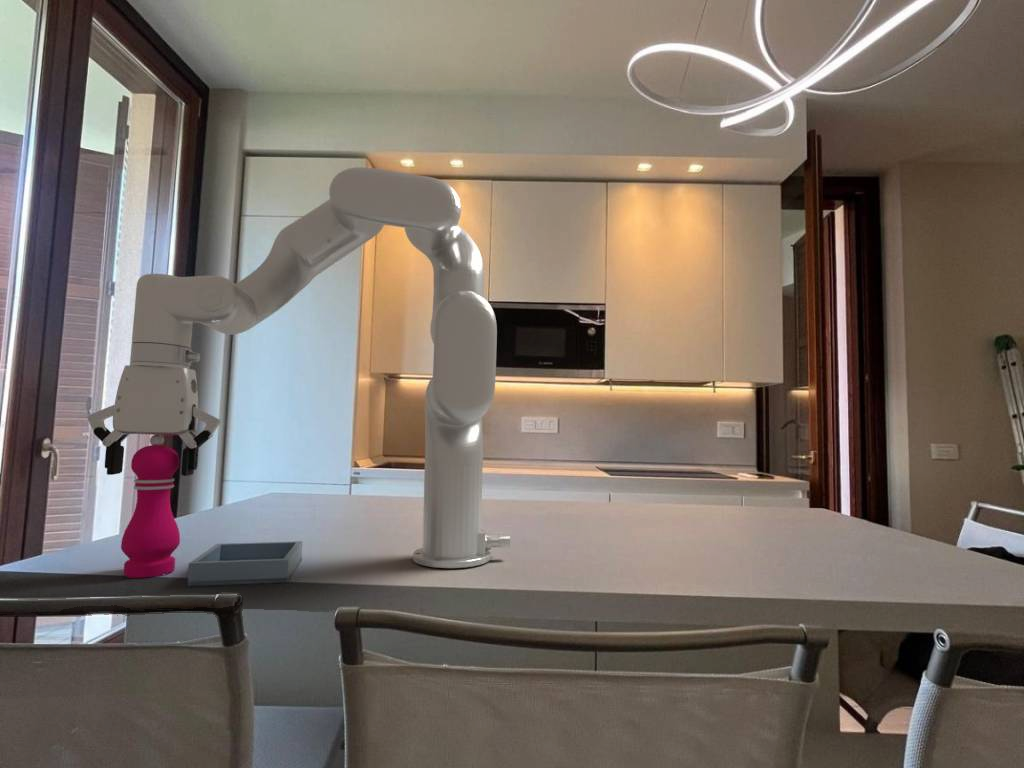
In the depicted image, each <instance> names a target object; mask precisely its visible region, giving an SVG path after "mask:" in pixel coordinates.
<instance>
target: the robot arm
mask: <svg viewBox="0 0 1024 768" xmlns="http://www.w3.org/2000/svg"><path fill="white" fill-rule="evenodd" d="M328 190H329V191H328V193H329V194H328V195H329V199H328V200H326V201H324V202H323V203H321V204H320V205H319V206H317V207H316V208H314V209H312V210H311V211H309V212H308V213H306V214H304V215H303V216H301V217H300V218H298V219H297V220H294V222H292V223H290V224H288V225H286V226H285V227H284V228H282V229H281V230H280V231H279V233H278V234H277V236H276V237H275V239H274V242H273V244H272V245H271V249H270V251H269V253H268V255H267V256H266V258H265V259H264V261H263V262H262V263H261V264H260V265H259V266H258V267H257V268H256V269H255V270H253V271H252V272H251V273H250V274H248V275H247V276H245V277H244V278H243V279H241V280H240V281H238V282H236V283H234V281H232V280H230V279H229V278H227V277H224V276H220V275H197V276H176V275H172V274H165V273H146V274H143V275H141V276H140V277H139V278H138V280H137V283H136V288H135V289H136V290H135V299H134V300H135V301H134V313H133V323H132V334H131V347H130V348H131V349H130V356H129V357H130V359H129V364H128V365H124V368H123V371H122V373H121V375H120V376H121V377H120V378H119V383H118V386H117V390H116V395H115V400H114V404H113V405H110V406H107V407H105V408H103V409H101V410H98V411H95V412H93V413H90V414H89V415H87V421H88V422H89V426H90V427H91V429H92V430H93V435H95V437H96V438H97V439H98V440H100V441H101V442H102V445H103V446H104V447H105V455H104V468H105V469H106V475H108V476H112V475H119V474H121V473H122V472H123V466H124V456H125V455H124V453H125V447H124V445H122V442H123V441H125V440H126V439H127V438H128V437H129V436H130V435H152V436H153V435H161V436H179V438H180V439H181V441H183V442H184V444H185V445H186V447H185V448H184V449H182V458H181V471H180V475H181V476H183V477H186V476H187V477H188V476H192V475H194V472H195V471H196V470H197V468H198V462H199V448H201V447H202V446H203V445H204V444H205V443H206V442H207V441H208V440H209V439H211V438H212V437H213V435H214V433H215V432H216V430H218V427H219V425H220V424H221V420H220V419H219V418H218V417H216V416H214V415H212V414H210V413H208V412H206V411H204V410H203V409H200V408H199V395H198V394H199V393H198V392H199V391H198V382H197V373H196V369H191V368H190V367H191V365H192V363H199V362H200V360H201V353H199V352H194V351H193V350H192V347H191V346H192V339H193V338H192V336H193V325H194V324H193V323H198V324H201V325H204V326H207V327H209V328H212V329H213V330H215V331H216V332H218V333H221V334H225V335H239V334H242V333H244V332H247V331H248V330H250V329H252V328H254V327H256V326H257V325H258V324H260V323H262V322H263V321H265V320H266V319H268V318H269V317H271V316H272V315H274V314H275V313H277V312H278V311H279V310H280V309H282V308H283V307H284V306H285V305H286V304H288V303H290V301H291V300H293V299H294V298H295V296H297V295H298V294H299V293H300V292H302V290H304V289H305V288H306V287H307V286H308V285H309V284H310V283H311V282H312V281H313V280H314V279H315V277H317V276H318V275H320V274H321V273H322V272H324V271H325V270H328V268H329V267H332V266H333V265H334V264H336V263H337V262H339V261H341V260H342V259H343V258H345V257H346V256H347V255H349V254H351V253H352V252H354V251H356V249H359V248H360V247H361V246H363V245H364V244H366V243H367V242H369V241H370V240H372V239H373V238H374V237H376V236H377V235H378V234H379V233H380V232H381V231H382V229H383V228H384V226H391V227H398V228H404V232H405V235H406V237H407V239H408V241H409V242H410V244H411V245H412V246H413V247H415V248H416V249H417V250H418V251H419V252H421V253H422V254H423V255H425V257H427V259H428V260H429V261H430V263H431V265H432V269H433V296H432V299H433V300H432V313H431V315H432V316H431V320H430V332H429V333H430V337H431V341H432V343H433V360H432V362H433V363H432V364H433V365H432V377H431V379H430V380H429V381H428V383H427V386H426V389H425V395H424V423H425V424H424V425H425V426H424V427H425V428H424V430H425V431H424V432H425V435H424V436H425V439H424V440H425V441H424V443H425V444H424V446H425V447H424V448H425V449H424V476H423V477H424V480H423V481H424V482H423V483H424V484H423V521H422V547H420V548H417V549H416V550H414V551H413V553H412V561H413V562H414V563H415V564H418V565H421V566H424V567H430V568H437V569H462V568H464V569H465V568H473V567H476V566H477V567H478V566H481V565H484V564H487V563H488V562H489V561H490V560H491V554H492V552H491V549H492V548H498V549H501V548H502V549H503V548H504V549H505V548H508V549H509V548H510V547H511V537H510V535H501V534H486V532H485V531H484V529H483V528H482V524H483V523H482V522H483V521H482V516H483V515H482V514H483V511H482V510H483V509H482V507H483V463H484V436H483V435H484V433H483V432H484V431H483V416H484V415H485V414H486V413H487V412H489V409H490V407H491V405H492V403H493V401H494V397H495V391H496V389H495V388H496V376H497V375H496V373H497V371H496V370H497V343H498V342H497V341H498V339H497V337H498V329H497V327H498V325H497V320H496V314H495V311H494V309H493V308H492V305H491V304H490V303H489V302H488V301H487V299H486V298H485V283H484V282H485V281H484V280H485V272H484V270H485V269H484V262H483V258H482V254H481V252H480V249H479V247H478V246H477V244H476V243H475V241H474V239H473V238H472V237H471V236H470V234H468V232H467V231H466V230H465V229H464V228H462V227H461V226H460V225H459V221H460V219H461V215H462V204H461V200H460V197H459V194H458V193H457V192H456V190H455V189H454V188H453V187H452V186H451V185H450V184H448V183H447V182H445V181H443V180H440V179H439V178H435V177H431V176H426V175H421V174H420V175H419V174H414V173H413V174H412V173H407V172H401V171H394V170H387V169H383V168H381V169H380V168H376V167H375V168H374V167H365V166H364V167H363V166H362V167H361V166H360V167H359V166H357V167H351V168H350V167H349V168H346V169H344V170H341V171H340V172H338V173H337V174H336V175H335V176H334V177H333V178H332V180H331V183H330V186H329V189H328ZM109 418H112V429H113V430H112V431H110V430H109V429H108V428H107V427H106V424H105V421H106V420H107V419H109ZM199 420H200V421H201V422H204V424H205V427H204V429H203V430H202V431H200V432H199V433H198V434H196V433H195V432H196V431H197V428H198V425H199V424H198V423H199Z"/></svg>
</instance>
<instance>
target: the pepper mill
mask: <svg viewBox="0 0 1024 768" xmlns="http://www.w3.org/2000/svg"><path fill="white" fill-rule="evenodd" d="M149 442H150V445H147V446H144V447H142V448H140V449H138V450H137V451H135V453H134V455H133V456H132V459H131V463H130V464H131V465H130V467H131V468H130V469H131V470H132V472H133V473H134V474H135V475H136V477H137V478H136V479H134V485H133V489H134V490H136V498H137V499H136V504H135V509H134V512H133V515H132V517H131V519H130V520H129V522H128V524H127V526H126V528H125V529H124V532H123V535H122V538H121V542H120V543H121V544H120V549H121V551H122V553H123V554H124V555H125V556H126V557H127V558H128V560H126V561H125V562H124V564H123V576H124V577H125V576H126V577H125V578H130V579H149V578H155V576H156V577H160V576H159V575H161V576H164V575H163V574H165V575H168V574H170V572H171V573H172V571H173V572H174V571H175V569H176V568H175V566H176V557H174V556H172V554H173V552H175V551H176V549H177V548H178V547H179V546H180V542H181V536H180V535H181V533H180V530H179V527H178V524H177V522H176V519H175V517H174V515H173V511H172V508H171V492H172V491H171V490H172V489H173V488H174V487H175V483H174V481H175V478H174V477H173V476H174V474H175V472H177V471H178V469H179V468H180V457H179V454H178V452H177V451H176V450H175V449H174V448H172V447H170V446H167V445H163V444H164V443H165V438H164V435H153V434H152V436H151V437H150V439H149ZM167 573H168V574H167Z"/></svg>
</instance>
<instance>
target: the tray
mask: <svg viewBox="0 0 1024 768" xmlns="http://www.w3.org/2000/svg"><path fill="white" fill-rule="evenodd" d="M302 557H303V541H302V540H301V541H296V540H295V541H270V542H269V541H267V542H266V541H265V542H264V541H263V542H262V541H261V542H235V543H232V542H231V543H216V544H215V545H213V546H212V547H210V548H209V549H208V550H205V552H203V553H202V554H200V555H199V556H197V557H196V558H194V559H192V560H191V561H190V562H188V568H187V569H188V570H187V587H200V586H201V587H202V586H205V587H206V586H207V587H208V586H223V585H225V586H228V585H229V586H230V585H251V584H272V583H275V584H276V583H288V582H289V580H290V579H291V577H292V576H293V575H294V573H295V571H296V570H297V569H298V566H299V565H300V564H301V562H302Z"/></svg>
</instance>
